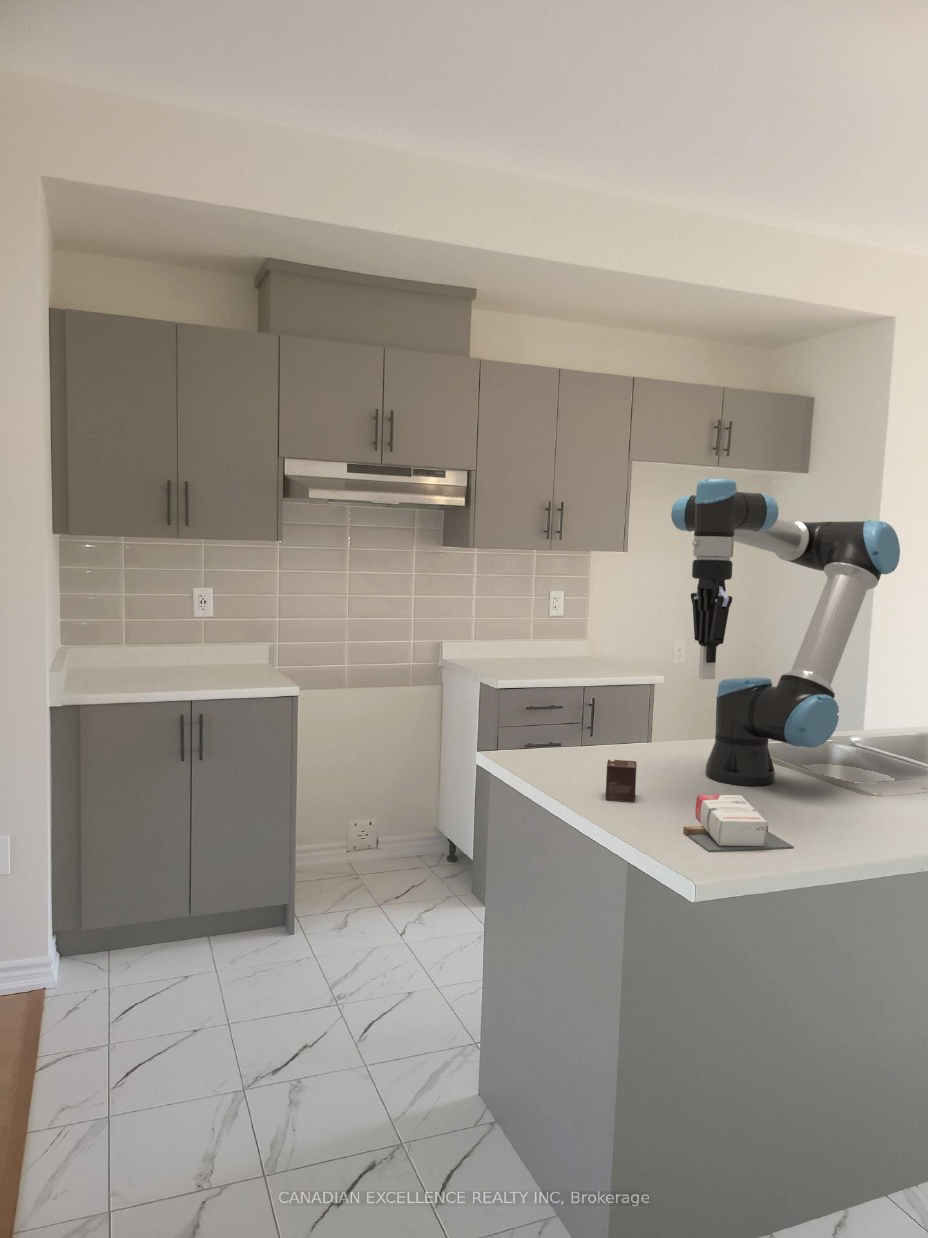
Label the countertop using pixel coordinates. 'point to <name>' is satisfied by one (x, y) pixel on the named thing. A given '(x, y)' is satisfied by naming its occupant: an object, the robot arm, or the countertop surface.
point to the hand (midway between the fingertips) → (706, 678)
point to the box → (621, 780)
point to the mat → (712, 846)
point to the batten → (697, 830)
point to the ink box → (731, 820)
